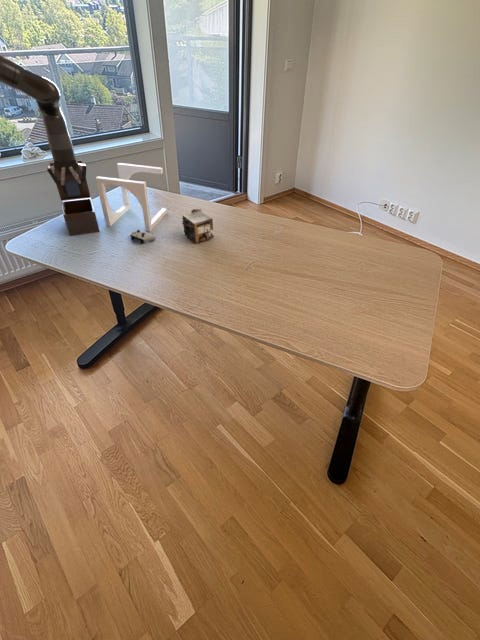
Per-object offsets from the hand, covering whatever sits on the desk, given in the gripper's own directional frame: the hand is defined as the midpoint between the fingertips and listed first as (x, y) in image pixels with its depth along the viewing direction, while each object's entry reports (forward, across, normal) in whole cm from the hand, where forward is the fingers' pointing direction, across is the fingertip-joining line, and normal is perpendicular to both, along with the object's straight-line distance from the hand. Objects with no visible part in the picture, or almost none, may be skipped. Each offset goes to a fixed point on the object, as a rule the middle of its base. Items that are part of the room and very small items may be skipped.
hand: (73, 193), depth 135 cm
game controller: (+15, -21, +16) cm, 31 cm away
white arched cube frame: (+15, -23, -3) cm, 28 cm away
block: (0, 0, 0) cm, 0 cm away
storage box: (+15, 0, -3) cm, 16 cm away
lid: (-2, 0, -9) cm, 9 cm away
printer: (+15, -43, +24) cm, 52 cm away
